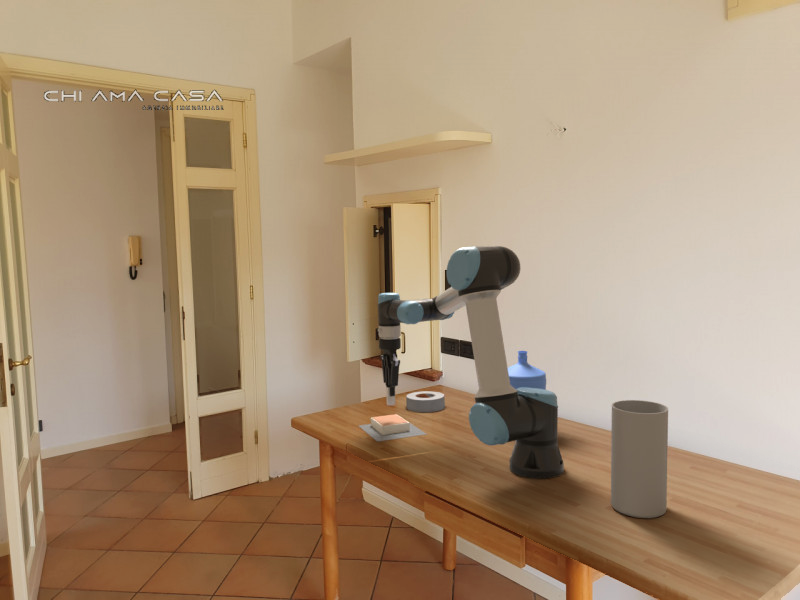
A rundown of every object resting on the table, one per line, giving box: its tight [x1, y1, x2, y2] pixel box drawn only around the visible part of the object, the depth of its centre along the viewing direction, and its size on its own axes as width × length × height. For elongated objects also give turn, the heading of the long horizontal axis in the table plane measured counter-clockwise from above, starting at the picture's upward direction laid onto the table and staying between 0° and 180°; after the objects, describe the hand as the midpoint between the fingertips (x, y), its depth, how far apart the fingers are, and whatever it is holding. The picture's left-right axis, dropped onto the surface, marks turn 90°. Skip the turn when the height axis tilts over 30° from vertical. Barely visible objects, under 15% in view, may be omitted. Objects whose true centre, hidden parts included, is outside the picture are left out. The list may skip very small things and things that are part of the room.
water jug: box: [508, 350, 547, 390], centre depth 208 cm, size 16×16×28 cm
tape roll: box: [405, 390, 446, 413], centre depth 244 cm, size 15×15×5 cm
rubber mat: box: [358, 422, 427, 442], centre depth 213 cm, size 20×18×1 cm
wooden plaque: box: [370, 413, 411, 435], centre depth 214 cm, size 3×10×12 cm
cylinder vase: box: [610, 399, 669, 519], centre depth 146 cm, size 12×12×25 cm
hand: (391, 404), depth 212 cm, fingers closed
